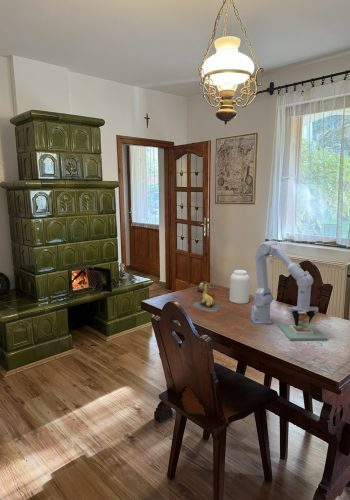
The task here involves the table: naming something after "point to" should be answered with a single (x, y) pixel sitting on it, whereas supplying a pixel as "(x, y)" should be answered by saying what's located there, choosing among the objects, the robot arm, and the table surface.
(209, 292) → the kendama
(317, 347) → the table surface
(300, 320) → the block stack
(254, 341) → the table surface
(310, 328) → the plate
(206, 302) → the yellow giraffe figurine
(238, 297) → the white jar
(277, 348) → the table surface
